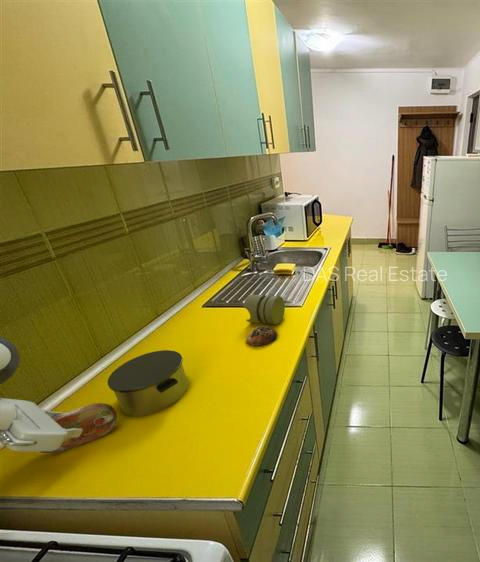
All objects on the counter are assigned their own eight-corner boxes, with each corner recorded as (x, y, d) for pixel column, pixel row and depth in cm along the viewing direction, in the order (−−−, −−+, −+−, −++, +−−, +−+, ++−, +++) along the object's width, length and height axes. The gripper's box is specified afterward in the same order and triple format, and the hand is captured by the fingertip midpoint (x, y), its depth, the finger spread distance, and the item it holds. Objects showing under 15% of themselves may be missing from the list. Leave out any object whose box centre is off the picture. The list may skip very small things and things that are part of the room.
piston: (260, 313, 132) (255, 290, 127) (286, 315, 130) (282, 291, 125) (246, 327, 121) (240, 302, 117) (274, 329, 119) (269, 304, 115)
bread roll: (275, 344, 109) (271, 332, 108) (244, 351, 109) (240, 339, 107) (279, 329, 120) (276, 318, 118) (251, 335, 119) (247, 324, 117)
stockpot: (105, 402, 85) (92, 376, 81) (167, 367, 99) (158, 343, 95) (143, 429, 77) (130, 400, 73) (205, 386, 90) (197, 361, 87)
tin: (38, 460, 69) (21, 432, 66) (43, 450, 72) (27, 422, 69) (120, 430, 76) (109, 403, 73) (122, 422, 79) (111, 396, 76)
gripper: (17, 427, 57) (99, 427, 68) (-18, 392, 66) (61, 396, 77) (-7, 464, 55) (83, 457, 66) (-39, 422, 64) (45, 422, 75)
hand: (70, 424), depth 72 cm, fingers open, 8 cm apart
